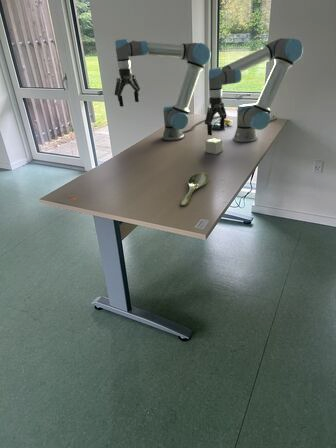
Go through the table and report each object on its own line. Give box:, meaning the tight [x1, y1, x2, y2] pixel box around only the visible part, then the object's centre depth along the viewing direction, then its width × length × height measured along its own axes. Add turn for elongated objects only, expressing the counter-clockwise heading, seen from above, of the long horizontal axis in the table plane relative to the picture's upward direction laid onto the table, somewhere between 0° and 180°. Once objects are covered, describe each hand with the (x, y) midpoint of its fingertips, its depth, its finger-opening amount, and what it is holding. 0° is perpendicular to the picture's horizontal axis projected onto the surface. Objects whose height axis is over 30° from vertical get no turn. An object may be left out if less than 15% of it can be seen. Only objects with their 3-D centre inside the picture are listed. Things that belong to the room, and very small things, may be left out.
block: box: [205, 137, 223, 155], centre depth 215 cm, size 7×8×7 cm
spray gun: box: [211, 118, 234, 130], centre depth 264 cm, size 21×4×15 cm
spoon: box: [180, 171, 210, 207], centre depth 170 cm, size 35×11×2 cm, turn 159°
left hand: (129, 104), depth 216 cm, fingers open, 13 cm apart
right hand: (216, 132), depth 210 cm, fingers open, 13 cm apart
